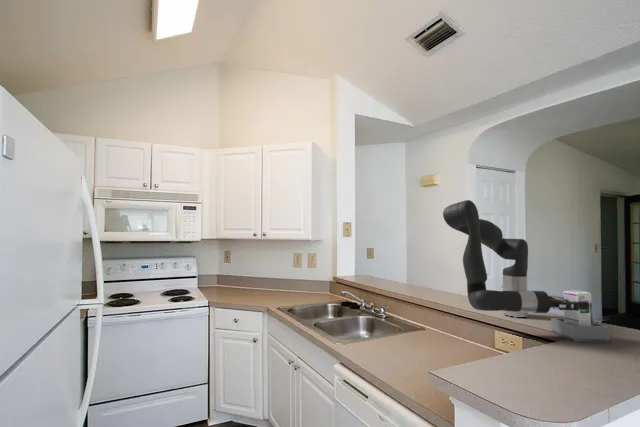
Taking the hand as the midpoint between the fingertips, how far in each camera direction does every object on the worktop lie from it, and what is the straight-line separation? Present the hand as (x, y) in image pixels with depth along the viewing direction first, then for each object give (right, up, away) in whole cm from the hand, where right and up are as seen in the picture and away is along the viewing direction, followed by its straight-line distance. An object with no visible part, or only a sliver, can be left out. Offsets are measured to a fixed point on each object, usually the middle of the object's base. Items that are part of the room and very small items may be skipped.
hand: (580, 303), depth 121 cm
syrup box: (-1, -11, 0) cm, 11 cm away
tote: (-1, -11, -1) cm, 12 cm away
